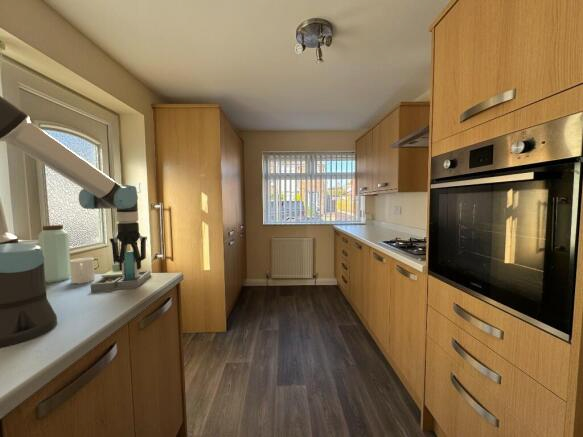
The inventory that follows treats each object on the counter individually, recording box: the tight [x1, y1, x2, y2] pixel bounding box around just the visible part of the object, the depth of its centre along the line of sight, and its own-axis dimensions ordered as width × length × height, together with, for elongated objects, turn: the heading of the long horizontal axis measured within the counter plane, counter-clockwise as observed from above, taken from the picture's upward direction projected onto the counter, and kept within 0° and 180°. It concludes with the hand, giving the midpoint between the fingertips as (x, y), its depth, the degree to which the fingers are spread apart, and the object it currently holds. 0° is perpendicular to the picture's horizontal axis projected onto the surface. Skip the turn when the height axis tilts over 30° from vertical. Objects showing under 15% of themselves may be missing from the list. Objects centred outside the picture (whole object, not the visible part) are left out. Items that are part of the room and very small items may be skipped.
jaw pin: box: [124, 250, 137, 281], centre depth 106 cm, size 4×4×12 cm
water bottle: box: [37, 224, 71, 284], centre depth 115 cm, size 10×10×25 cm
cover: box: [101, 263, 122, 278], centre depth 111 cm, size 9×8×4 cm
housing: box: [90, 270, 152, 293], centre depth 109 cm, size 18×16×3 cm
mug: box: [70, 256, 96, 284], centre depth 111 cm, size 8×12×10 cm
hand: (131, 277), depth 106 cm, fingers closed on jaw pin, 4 cm apart
